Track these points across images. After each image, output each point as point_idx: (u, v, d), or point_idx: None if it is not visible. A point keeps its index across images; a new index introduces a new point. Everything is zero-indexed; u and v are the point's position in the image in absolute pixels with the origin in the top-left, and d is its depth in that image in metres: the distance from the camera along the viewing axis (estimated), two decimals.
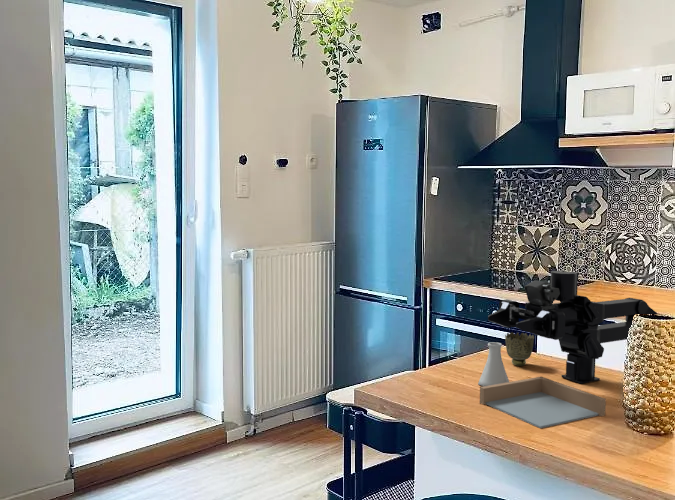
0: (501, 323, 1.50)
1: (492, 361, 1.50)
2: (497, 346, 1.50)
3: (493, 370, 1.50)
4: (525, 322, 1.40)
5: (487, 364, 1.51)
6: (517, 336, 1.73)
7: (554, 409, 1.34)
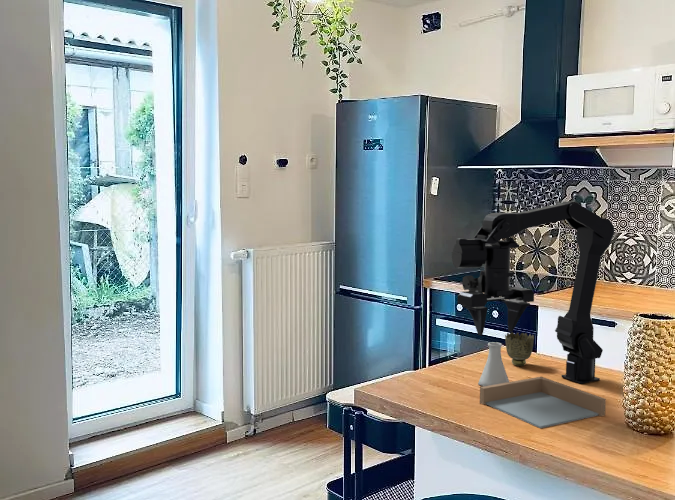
0: (516, 314, 1.51)
1: (492, 361, 1.50)
2: (497, 346, 1.50)
3: (493, 370, 1.50)
4: (476, 326, 1.49)
5: (487, 364, 1.51)
6: (517, 336, 1.73)
7: (554, 409, 1.34)
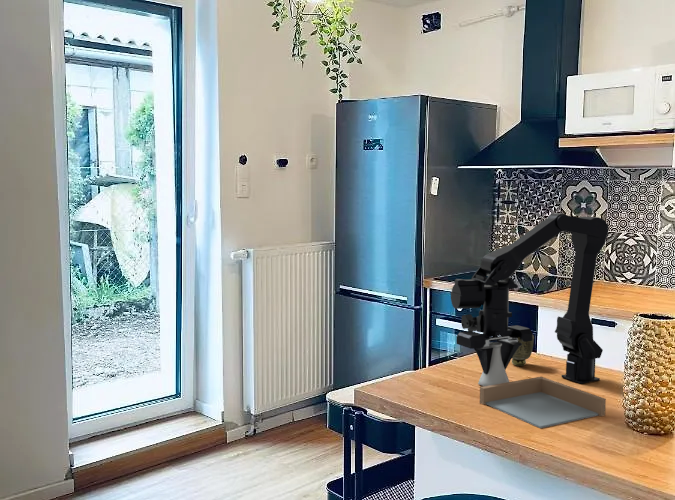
0: (508, 355, 1.51)
1: (492, 361, 1.50)
2: (497, 346, 1.50)
3: (493, 370, 1.50)
4: (481, 365, 1.51)
5: None
6: None
7: (554, 409, 1.34)
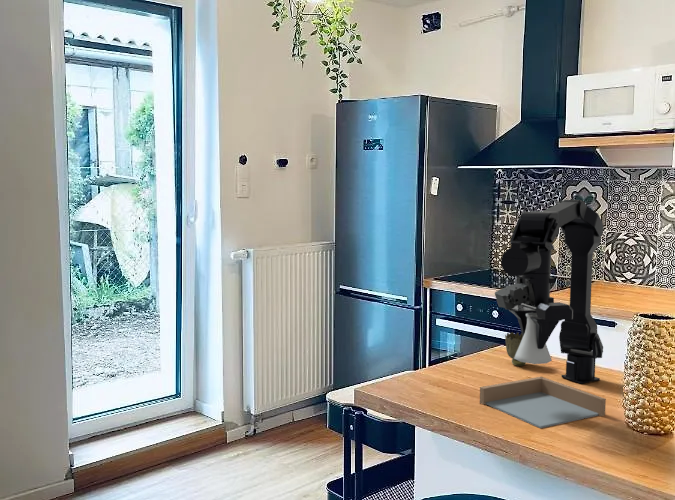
0: None
1: None
2: None
3: None
4: (539, 340, 1.32)
5: None
6: (517, 336, 1.73)
7: (554, 409, 1.34)
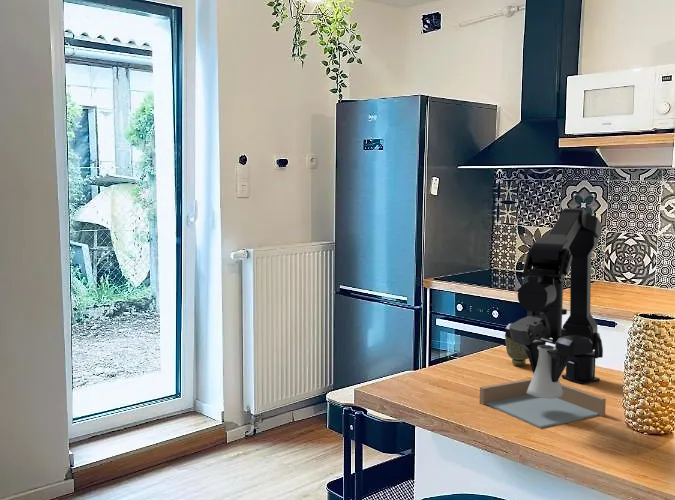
0: None
1: None
2: None
3: None
4: (555, 374, 1.29)
5: (550, 372, 1.30)
6: None
7: (554, 409, 1.34)
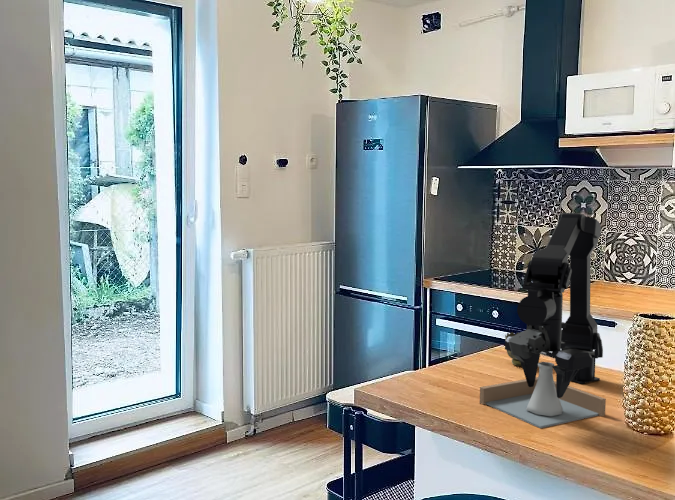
0: (536, 365, 1.36)
1: (553, 383, 1.31)
2: None
3: (556, 392, 1.32)
4: (560, 389, 1.28)
5: (550, 389, 1.31)
6: None
7: None
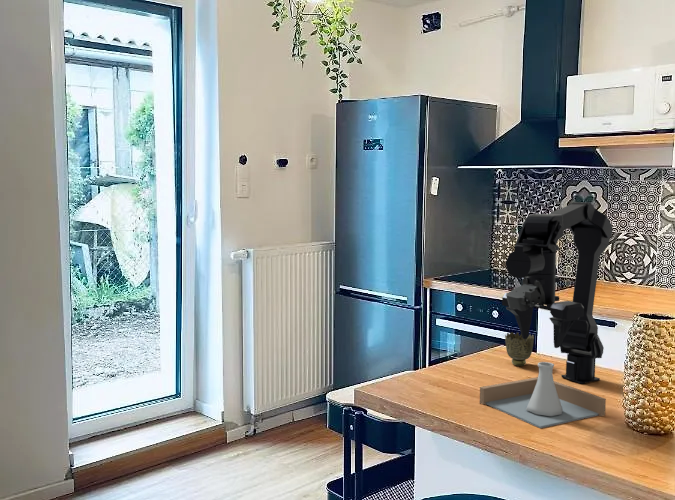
0: (530, 319, 1.46)
1: (553, 383, 1.31)
2: None
3: (556, 392, 1.32)
4: (557, 340, 1.36)
5: (550, 389, 1.31)
6: (517, 336, 1.73)
7: None
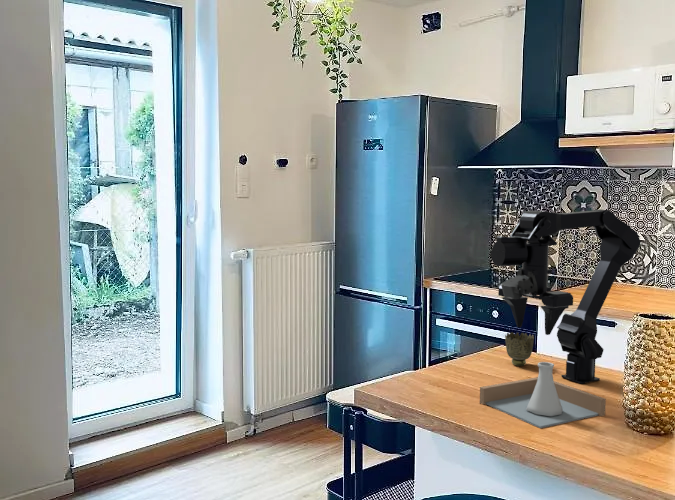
0: (524, 309, 1.56)
1: (553, 383, 1.31)
2: None
3: (556, 392, 1.32)
4: (548, 327, 1.46)
5: (550, 389, 1.31)
6: (517, 336, 1.73)
7: None
